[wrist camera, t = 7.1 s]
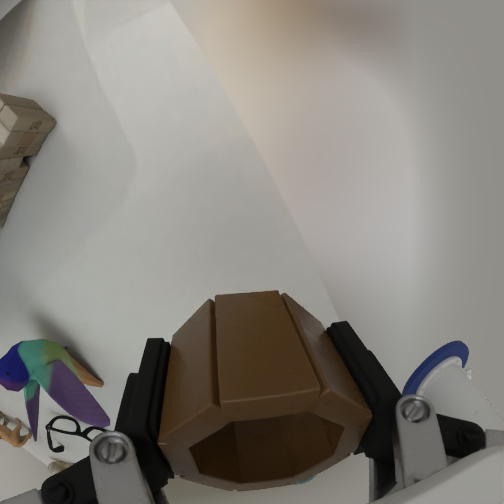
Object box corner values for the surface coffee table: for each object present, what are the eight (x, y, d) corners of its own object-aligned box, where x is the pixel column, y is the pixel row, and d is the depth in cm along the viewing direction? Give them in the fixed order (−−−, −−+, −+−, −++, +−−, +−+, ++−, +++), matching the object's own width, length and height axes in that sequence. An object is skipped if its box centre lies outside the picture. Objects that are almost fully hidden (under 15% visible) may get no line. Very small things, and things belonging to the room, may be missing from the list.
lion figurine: (0, 421, 36) (-12, 446, 28) (-11, 406, 35) (-24, 432, 26) (40, 433, 38) (29, 463, 30) (28, 419, 36) (16, 450, 28)
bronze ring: (327, 284, 10) (392, 371, 5) (312, 392, 12) (343, 472, 7) (162, 297, 9) (135, 402, 5) (187, 405, 11) (186, 493, 7)
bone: (55, 470, 42) (44, 487, 33) (51, 452, 44) (38, 469, 34) (83, 477, 45) (75, 497, 35) (79, 460, 46) (70, 479, 36)
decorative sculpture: (51, 255, 27) (-24, 327, 13) (144, 367, 33) (126, 463, 20) (-6, 311, 28) (-58, 373, 14) (72, 397, 34) (47, 469, 21)
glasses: (128, 430, 40) (125, 451, 35) (127, 468, 44) (125, 485, 39) (46, 402, 36) (38, 420, 31) (59, 446, 40) (54, 462, 35)
